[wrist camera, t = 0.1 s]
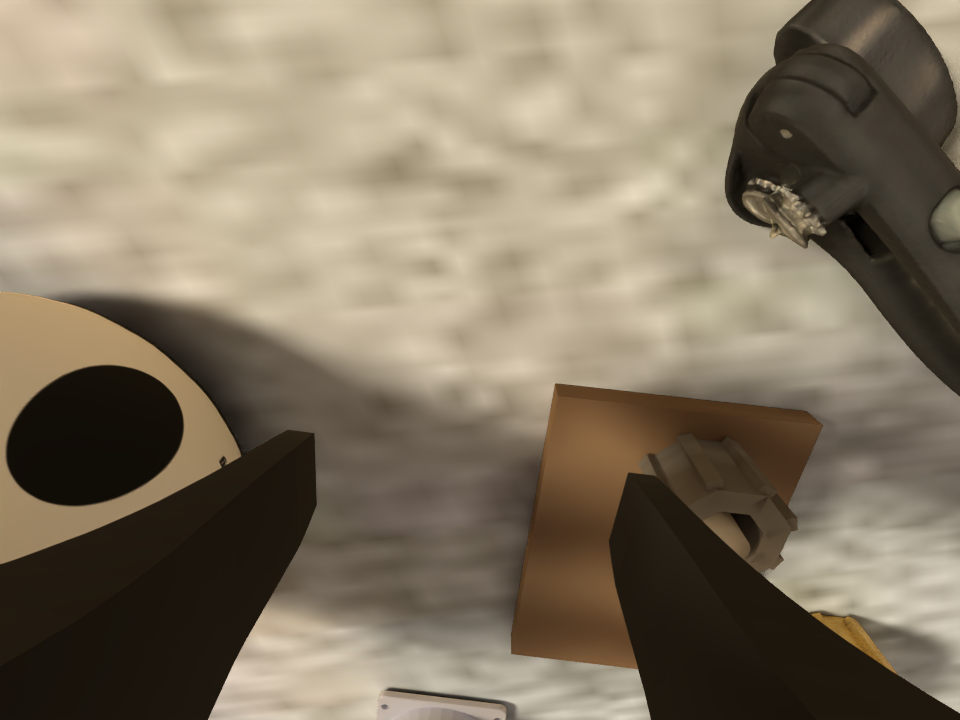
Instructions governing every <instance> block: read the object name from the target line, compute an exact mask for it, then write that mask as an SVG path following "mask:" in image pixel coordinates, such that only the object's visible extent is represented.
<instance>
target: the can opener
mask: <svg viewBox="0 0 960 720" xmlns="http://www.w3.org/2000/svg"><path fill="white" fill-rule="evenodd" d="M774 58H775V62H776V66H774V67H773V68H771V69H770V70H769V71H768V72H766V73H765V74H764V75H763V76H762V77H761V78H760V79H759V81H758V82H757V83H756V84H755V86H754V87H753V88H752V89H751V91H750V92H749V94H748V95H747V97H746V99H745V102H744V104H743V106H742V108H741V110H740V113H739V117H738V120H737V123H736V127H735V134H734V138H733V144H732V148H731V152H730V156H729V160H728V165H727V170H726V176H725V193H726V198H727V201H728V204H729V205H730V207H731V208H732V210H733V211H734V212H735V214H736V215H738V216H739V217H740V218H742V219H743V220H745V221H747V222H749V223H751V224H755V225H758V226H763V227H770V228H772V229H771V232H770V237H771V238H774V237H776V236H777V235H782V236H786V237H788V238H789V239H791V240H792V241H794V242H795V243H797V244H798V245H800V246H801V247H803V248H805V249H806V248H807V247H808V241H809V240H810V239H811V240H813V241H814V242H816V243H817V244H818V245H819V246H820V247H821V248H822V249H824V250H825V251H826V252H828V253H829V254H830V255H831V256H832V257H833V258H835V259H836V260H837V261H838V262H839V263H840V264H841V265H842V266H843V267H844V268H845V269H846V270H847V271H848V272H849V273H850V275H851V276H852V277H853V278H854V279H855V280H856V281H857V282H858V284H859V285H860V286H861V287H862V288H863V290H864V291H865V292H866V294H867V295H868V296H869V298H870V299H871V300H872V302H873V303H874V304H875V305H876V307H877V308H878V310H879V311H880V312H881V314H882V315H883V316H884V317H885V319H886V320H887V321H888V322H889V324H890V325H891V326H892V327H893V329H894V330H895V331H896V332H897V334H898V335H899V336H900V337H901V338H902V340H903V341H904V342H905V343H906V344H907V346H908V347H909V348H910V349H911V350H912V351H913V352H914V354H915V355H916V356H917V357H918V358H919V359H920V360H921V361H922V362H923V363H924V364H925V365H926V366H927V367H928V368H929V369H930V370H931V371H932V372H933V373H934V374H935V375H936V376H937V377H938V378H939V379H940V380H941V381H943V383H945V384H946V385H947V386H948V387H949V388H950V389H951V390H953V391H954V392H955V393H956V394H958V395H959V396H960V171H959V170H958V169H957V168H956V167H955V165H954V164H953V162H951V160H950V159H949V158H948V157H947V156H946V154H945V153H944V152H943V150H942V149H941V146H942V145H943V143H944V141H945V140H946V138H947V137H948V136H949V134H950V132H951V131H952V130H953V127H954V125H955V122H956V116H957V107H958V106H957V101H956V94H955V92H954V87H953V82H952V80H951V77H950V75H949V71H948V68H947V66H946V63H945V62H944V59H943V58H942V56H941V53H940V52H939V50H938V48H937V47H936V46H935V44H934V42H933V41H932V39H931V38H930V36H929V35H928V34H927V32H926V30H925V29H924V27H923V26H922V25H921V24H920V23H919V22H918V21H917V20H916V18H915V17H914V16H913V15H912V14H911V13H910V12H909V11H908V10H907V9H906V8H905V7H904V6H903V5H902V4H901V3H900V2H899V1H898V0H811V1H810V2H809V3H808V4H807V5H806V6H805V7H803V8H802V9H801V10H800V11H799V12H798V13H797V14H796V15H795V16H794V17H793V18H791V19H790V20H789V21H788V22H787V23H786V24H785V25H784V26H783V28H782V29H781V30H780V31H779V32H778V33H777V36H776V40H775V47H774Z"/></svg>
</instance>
